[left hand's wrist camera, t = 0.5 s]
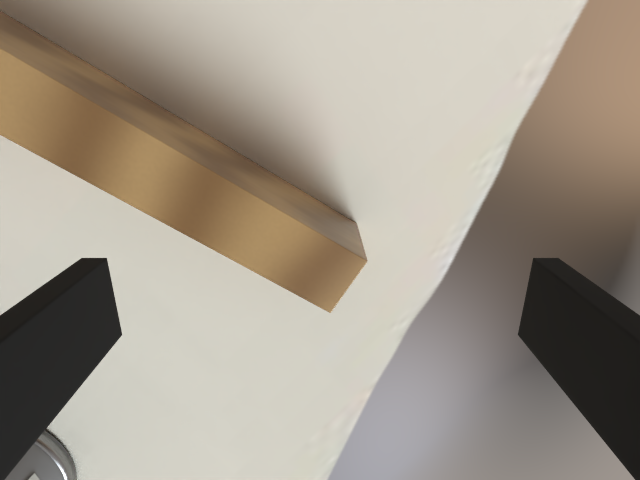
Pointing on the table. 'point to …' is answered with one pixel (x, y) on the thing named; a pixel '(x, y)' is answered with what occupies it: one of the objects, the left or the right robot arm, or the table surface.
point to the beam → (171, 169)
